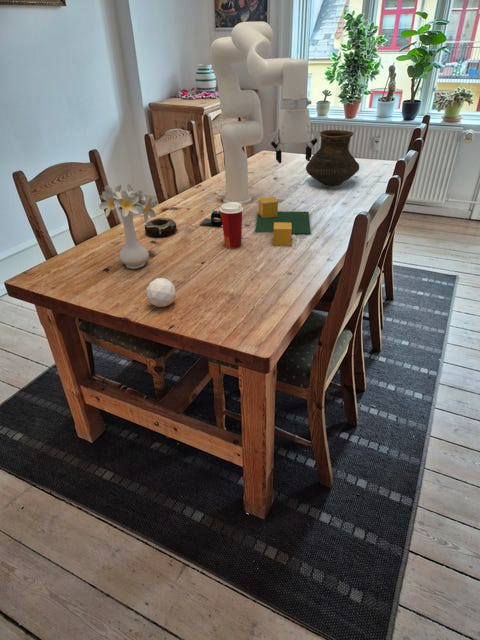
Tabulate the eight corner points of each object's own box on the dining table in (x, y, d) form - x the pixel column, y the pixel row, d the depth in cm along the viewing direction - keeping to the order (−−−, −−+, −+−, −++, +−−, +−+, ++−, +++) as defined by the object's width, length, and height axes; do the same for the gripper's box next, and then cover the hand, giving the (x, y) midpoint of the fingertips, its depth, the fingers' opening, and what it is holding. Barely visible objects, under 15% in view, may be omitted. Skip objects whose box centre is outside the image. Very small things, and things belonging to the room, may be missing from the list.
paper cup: (247, 241, 154) (246, 202, 147) (239, 250, 148) (238, 210, 141) (226, 239, 157) (224, 200, 149) (218, 248, 151) (215, 208, 143)
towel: (254, 234, 160) (254, 232, 160) (258, 212, 178) (258, 211, 178) (310, 234, 158) (310, 232, 158) (308, 213, 177) (308, 211, 176)
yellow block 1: (262, 218, 171) (262, 203, 168) (258, 213, 176) (258, 198, 173) (277, 216, 173) (277, 201, 169) (272, 211, 177) (272, 196, 174)
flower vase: (155, 276, 135) (143, 195, 121) (102, 270, 139) (84, 191, 125) (172, 258, 145) (163, 182, 131) (122, 253, 149) (107, 179, 136)
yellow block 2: (273, 245, 151) (273, 228, 148) (273, 238, 156) (274, 222, 153) (291, 245, 151) (291, 229, 147) (290, 238, 156) (291, 222, 152)
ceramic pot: (366, 181, 209) (373, 131, 197) (340, 194, 194) (345, 140, 182) (322, 173, 223) (326, 125, 211) (294, 185, 208) (296, 134, 196)
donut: (139, 236, 162) (137, 226, 159) (155, 225, 171) (153, 215, 168) (167, 240, 158) (166, 229, 156) (182, 228, 167) (181, 217, 165)
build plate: (235, 221, 171) (235, 210, 169) (230, 228, 165) (229, 216, 163) (205, 219, 174) (204, 207, 172) (199, 226, 168) (198, 214, 166)
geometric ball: (157, 315, 121) (135, 297, 117) (169, 293, 125) (148, 275, 121) (174, 310, 116) (152, 291, 112) (186, 287, 120) (165, 268, 116)
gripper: (318, 101, 142) (315, 157, 151) (265, 105, 141) (266, 160, 150) (325, 104, 136) (321, 161, 145) (269, 107, 134) (270, 165, 143)
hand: (293, 161), depth 147 cm, fingers open, 9 cm apart
